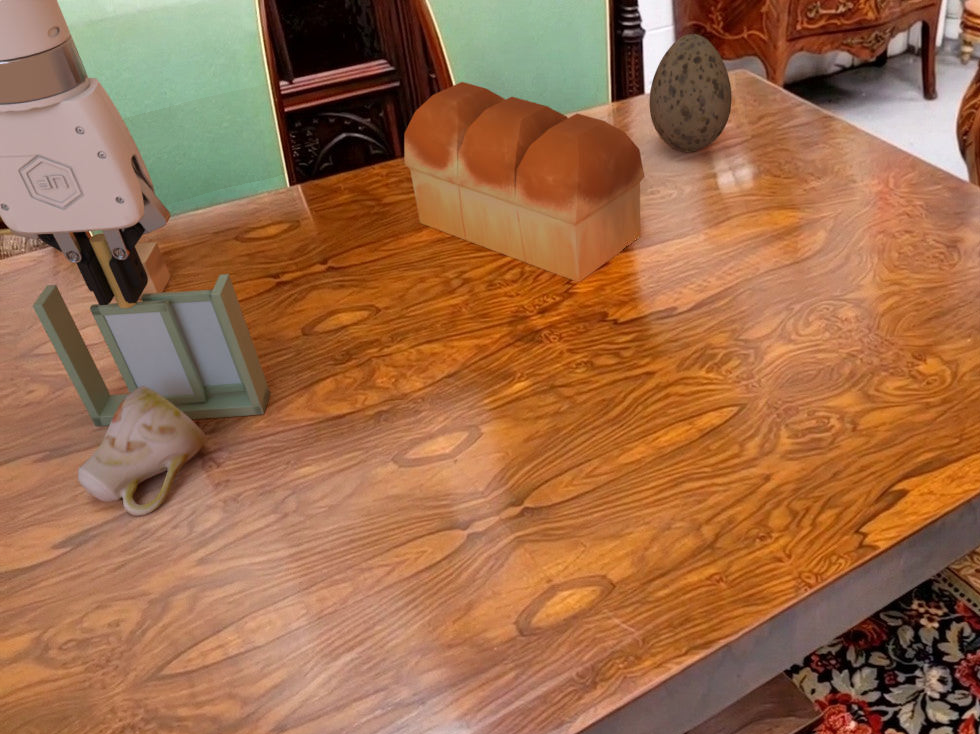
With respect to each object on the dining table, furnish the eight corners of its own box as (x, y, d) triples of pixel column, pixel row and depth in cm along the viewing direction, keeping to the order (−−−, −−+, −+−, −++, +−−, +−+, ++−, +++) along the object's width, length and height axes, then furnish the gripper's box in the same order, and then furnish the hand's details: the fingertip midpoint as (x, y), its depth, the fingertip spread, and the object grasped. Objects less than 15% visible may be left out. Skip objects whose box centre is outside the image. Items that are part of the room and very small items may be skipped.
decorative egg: (721, 169, 122) (727, 52, 113) (641, 161, 124) (640, 46, 115) (734, 135, 130) (741, 23, 120) (659, 129, 132) (659, 18, 122)
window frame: (95, 426, 85) (31, 305, 76) (106, 404, 87) (46, 284, 78) (264, 414, 86) (220, 294, 77) (270, 393, 88) (229, 273, 79)
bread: (645, 237, 109) (643, 113, 100) (580, 284, 102) (571, 155, 92) (485, 183, 120) (470, 67, 110) (415, 223, 113) (392, 101, 103)
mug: (64, 500, 78) (61, 382, 76) (182, 485, 85) (183, 377, 83) (100, 524, 73) (97, 398, 71) (222, 506, 81) (223, 392, 79)
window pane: (134, 409, 84) (55, 244, 73) (139, 399, 85) (62, 235, 74) (205, 404, 85) (136, 239, 74) (209, 395, 86) (142, 230, 75)
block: (117, 301, 100) (101, 265, 98) (130, 279, 104) (115, 244, 101) (159, 298, 101) (144, 262, 98) (170, 277, 104) (156, 241, 101)
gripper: (-122, 97, 62) (7, 327, 74) (121, 85, 63) (209, 314, 75) (-68, 58, 68) (44, 277, 80) (153, 46, 68) (231, 265, 81)
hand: (123, 294), depth 77 cm, fingers closed
